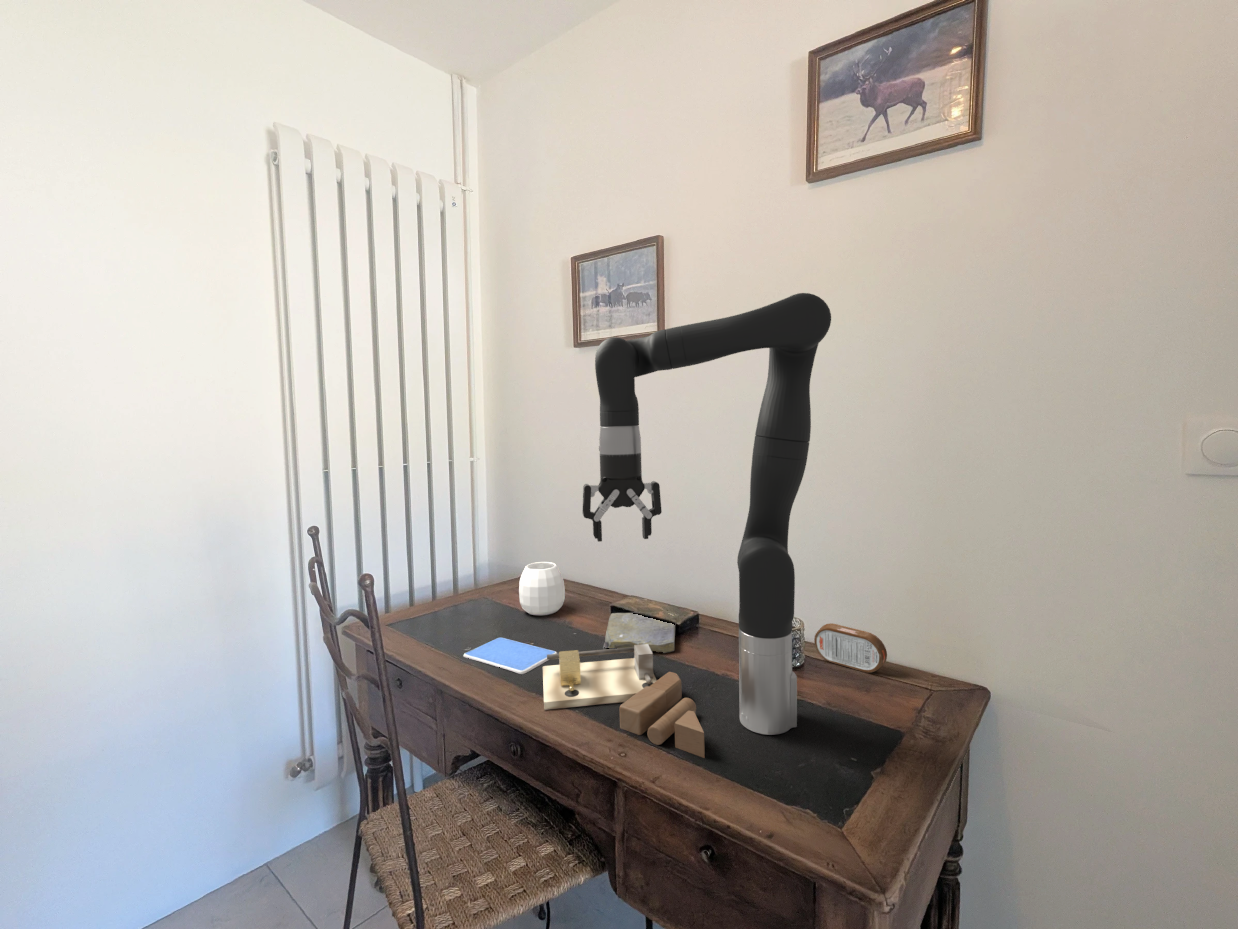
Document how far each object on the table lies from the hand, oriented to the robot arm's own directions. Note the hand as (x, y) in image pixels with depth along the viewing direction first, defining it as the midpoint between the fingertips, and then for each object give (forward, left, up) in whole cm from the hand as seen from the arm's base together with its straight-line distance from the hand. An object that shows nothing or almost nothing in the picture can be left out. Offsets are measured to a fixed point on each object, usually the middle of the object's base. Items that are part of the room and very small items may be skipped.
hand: (622, 539), depth 104 cm
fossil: (-9, -35, -34) cm, 49 cm away
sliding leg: (+10, -10, -31) cm, 34 cm away
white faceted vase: (+15, -60, -33) cm, 70 cm away
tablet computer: (+23, -31, -34) cm, 51 cm away
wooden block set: (-9, +5, -34) cm, 35 cm away
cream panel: (+4, -12, -33) cm, 35 cm away
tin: (-50, -10, -33) cm, 61 cm away
